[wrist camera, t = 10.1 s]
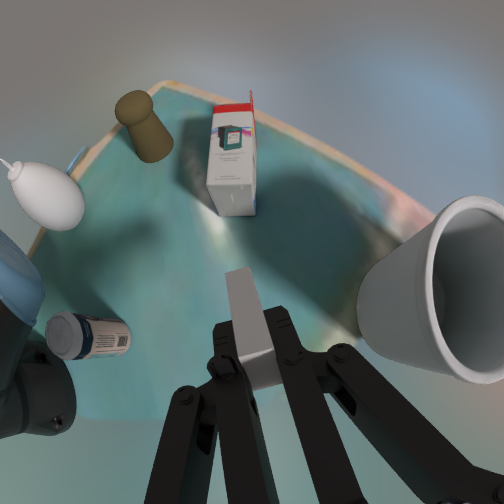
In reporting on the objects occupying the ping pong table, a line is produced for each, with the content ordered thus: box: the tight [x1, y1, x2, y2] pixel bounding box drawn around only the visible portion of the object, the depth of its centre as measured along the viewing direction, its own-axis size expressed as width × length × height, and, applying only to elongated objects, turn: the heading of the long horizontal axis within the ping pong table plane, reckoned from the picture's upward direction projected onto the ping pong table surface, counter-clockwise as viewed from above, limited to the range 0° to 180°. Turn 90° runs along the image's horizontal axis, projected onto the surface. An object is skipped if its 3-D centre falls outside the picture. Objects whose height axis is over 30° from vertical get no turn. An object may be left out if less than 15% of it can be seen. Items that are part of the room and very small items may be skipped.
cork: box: [115, 90, 174, 163], centre depth 34 cm, size 6×6×11 cm
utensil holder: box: [356, 195, 504, 384], centre depth 23 cm, size 15×15×18 cm
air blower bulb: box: [0, 159, 85, 231], centre depth 28 cm, size 8×8×18 cm
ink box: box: [206, 90, 256, 216], centre depth 33 cm, size 8×5×15 cm
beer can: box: [45, 311, 131, 360], centre depth 26 cm, size 5×5×12 cm
